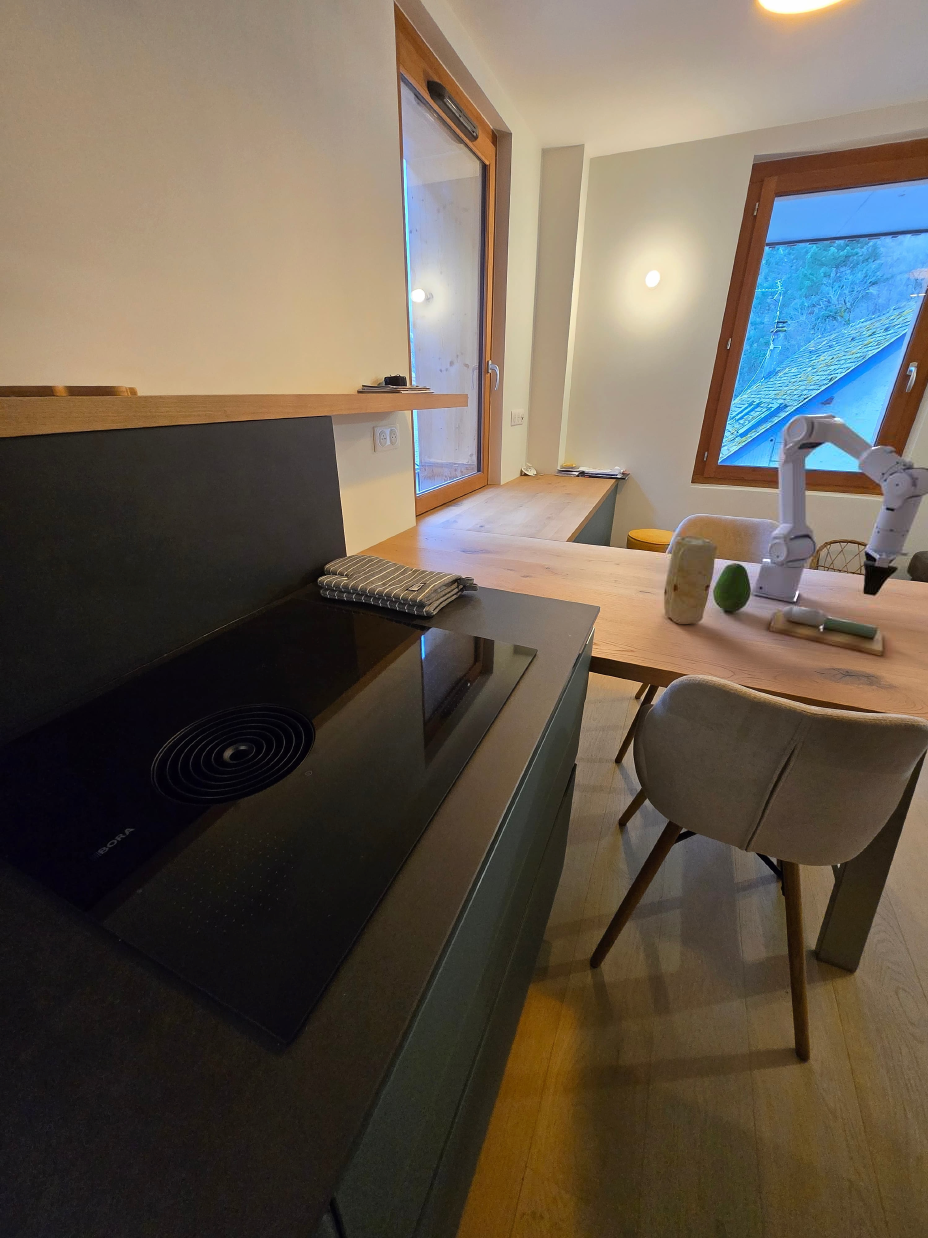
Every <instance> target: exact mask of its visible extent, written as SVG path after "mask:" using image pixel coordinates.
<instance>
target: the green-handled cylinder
mask: <svg viewBox="0 0 928 1238" xmlns="http://www.w3.org/2000/svg"><path fill="white" fill-rule="evenodd" d="M782 610H783V611H782V615H783V617H784V619H786V620H788V621H792V622H796V623H801V624H806V625H810V626H815V627H820V626H823V625H824V626H823V628H825V629H830V630H835V631H839V632H844V633H849V634H853V635H858V636H863V637H867V638H872V639H874V638H875V636H876V633H877V630H879V627H878V626H874V625H869V624H864V623H861V622H860V623H859V622H855V621H849V620H846V619H840V618H835V617H830V616H828V615H827V614H826V613H825V612H824V611H823V610H817V609H812V608H808V607H802V606H797V605H787V606H785V607H784V608H783V609H782Z"/></svg>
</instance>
